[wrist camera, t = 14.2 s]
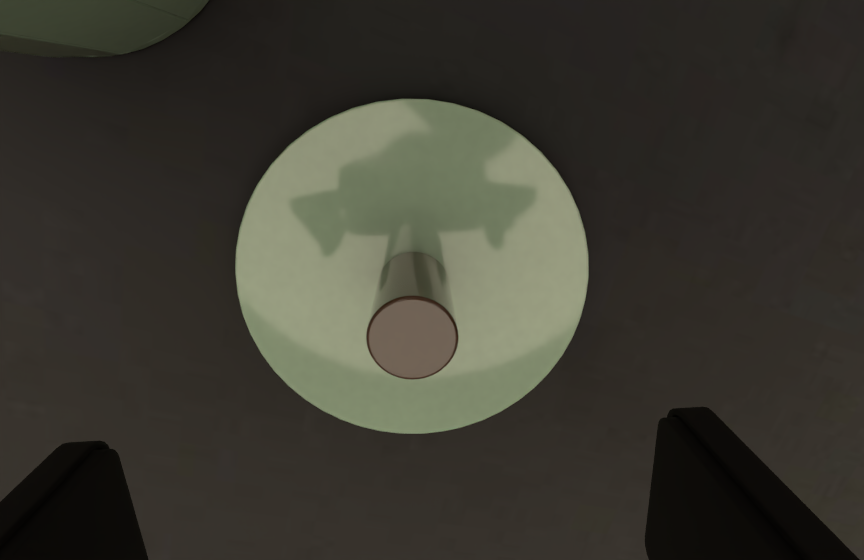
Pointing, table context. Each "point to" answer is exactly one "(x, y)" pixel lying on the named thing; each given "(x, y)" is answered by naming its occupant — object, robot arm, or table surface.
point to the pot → (90, 25)
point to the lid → (412, 266)
